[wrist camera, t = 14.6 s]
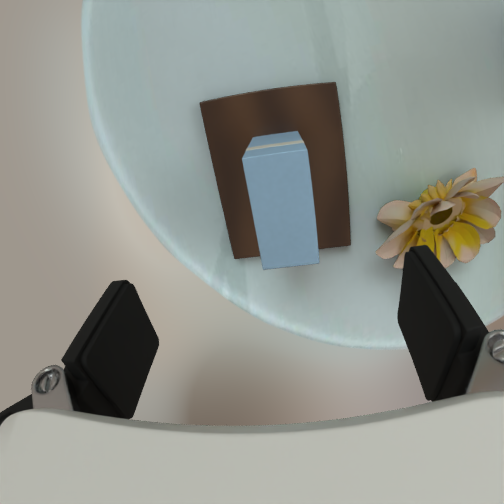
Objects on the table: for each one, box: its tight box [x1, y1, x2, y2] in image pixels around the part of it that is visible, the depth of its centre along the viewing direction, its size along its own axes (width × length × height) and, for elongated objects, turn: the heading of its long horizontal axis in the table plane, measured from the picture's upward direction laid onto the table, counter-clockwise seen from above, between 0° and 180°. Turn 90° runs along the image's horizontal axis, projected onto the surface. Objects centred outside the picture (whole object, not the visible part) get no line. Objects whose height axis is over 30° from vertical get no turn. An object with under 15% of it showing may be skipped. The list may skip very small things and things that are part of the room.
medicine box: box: [242, 131, 319, 270], centre depth 24 cm, size 4×8×9 cm, turn 10°
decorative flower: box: [376, 168, 504, 269], centre depth 25 cm, size 15×11×10 cm
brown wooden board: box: [200, 82, 351, 259], centre depth 28 cm, size 12×16×1 cm
